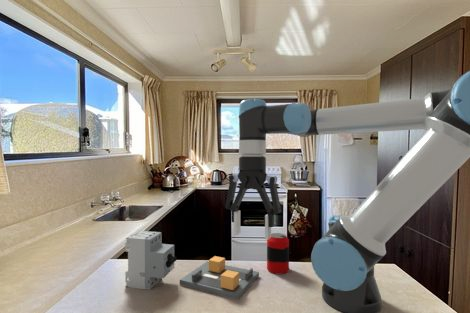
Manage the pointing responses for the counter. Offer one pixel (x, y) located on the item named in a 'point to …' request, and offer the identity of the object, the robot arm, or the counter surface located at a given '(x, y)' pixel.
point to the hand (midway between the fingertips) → (252, 235)
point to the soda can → (278, 253)
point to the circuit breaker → (147, 259)
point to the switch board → (219, 280)
